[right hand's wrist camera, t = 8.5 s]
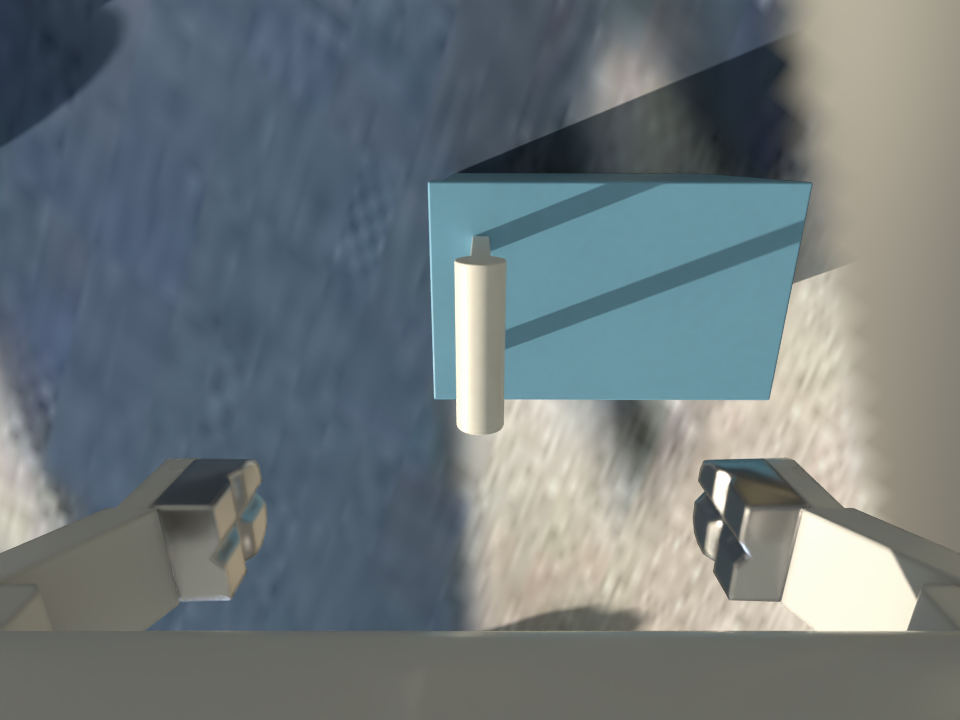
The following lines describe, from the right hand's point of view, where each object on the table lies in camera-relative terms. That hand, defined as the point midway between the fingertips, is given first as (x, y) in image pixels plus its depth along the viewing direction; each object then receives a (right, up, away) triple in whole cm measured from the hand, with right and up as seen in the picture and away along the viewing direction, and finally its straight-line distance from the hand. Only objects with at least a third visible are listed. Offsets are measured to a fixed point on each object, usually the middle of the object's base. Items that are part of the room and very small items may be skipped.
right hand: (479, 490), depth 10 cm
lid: (+6, +6, +15) cm, 17 cm away
